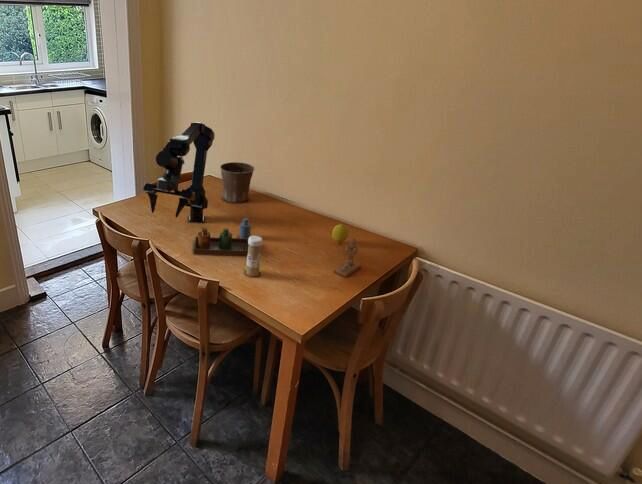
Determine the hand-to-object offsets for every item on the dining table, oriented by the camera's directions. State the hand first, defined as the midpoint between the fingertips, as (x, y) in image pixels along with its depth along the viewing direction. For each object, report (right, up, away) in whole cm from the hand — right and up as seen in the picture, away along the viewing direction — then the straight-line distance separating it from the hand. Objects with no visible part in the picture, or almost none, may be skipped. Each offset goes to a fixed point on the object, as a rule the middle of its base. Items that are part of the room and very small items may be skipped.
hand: (164, 215), depth 149 cm
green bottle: (+23, -12, +7) cm, 27 cm away
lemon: (+67, -11, +11) cm, 69 cm away
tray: (+23, -13, +7) cm, 27 cm away
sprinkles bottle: (+30, -20, -9) cm, 38 cm away
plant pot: (+34, +9, +54) cm, 64 cm away
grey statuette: (+63, -19, -7) cm, 67 cm away
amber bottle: (+15, -12, +8) cm, 21 cm away
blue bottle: (+32, -9, +16) cm, 36 cm away
